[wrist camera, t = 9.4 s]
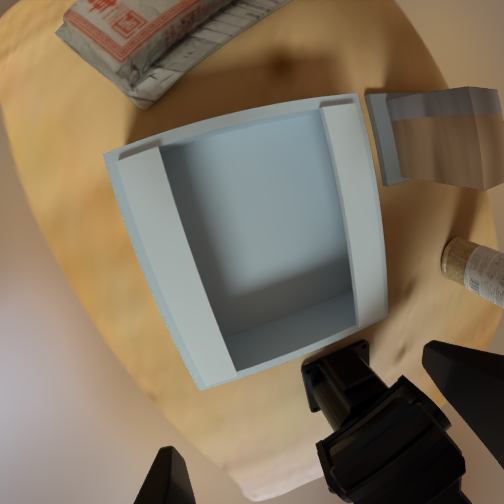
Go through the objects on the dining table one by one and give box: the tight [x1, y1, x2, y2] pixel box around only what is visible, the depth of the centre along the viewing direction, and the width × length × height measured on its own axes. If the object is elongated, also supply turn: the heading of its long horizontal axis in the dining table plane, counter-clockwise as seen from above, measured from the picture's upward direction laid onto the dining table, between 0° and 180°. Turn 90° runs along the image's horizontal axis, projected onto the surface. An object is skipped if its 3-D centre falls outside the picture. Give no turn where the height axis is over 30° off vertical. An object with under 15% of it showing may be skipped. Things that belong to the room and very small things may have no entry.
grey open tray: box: [103, 93, 388, 391], centre depth 17 cm, size 14×13×5 cm
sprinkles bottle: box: [441, 237, 504, 309], centre depth 18 cm, size 5×5×14 cm
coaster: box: [365, 92, 427, 186], centre depth 19 cm, size 7×7×1 cm
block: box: [386, 87, 504, 191], centre depth 15 cm, size 4×6×8 cm, turn 16°
